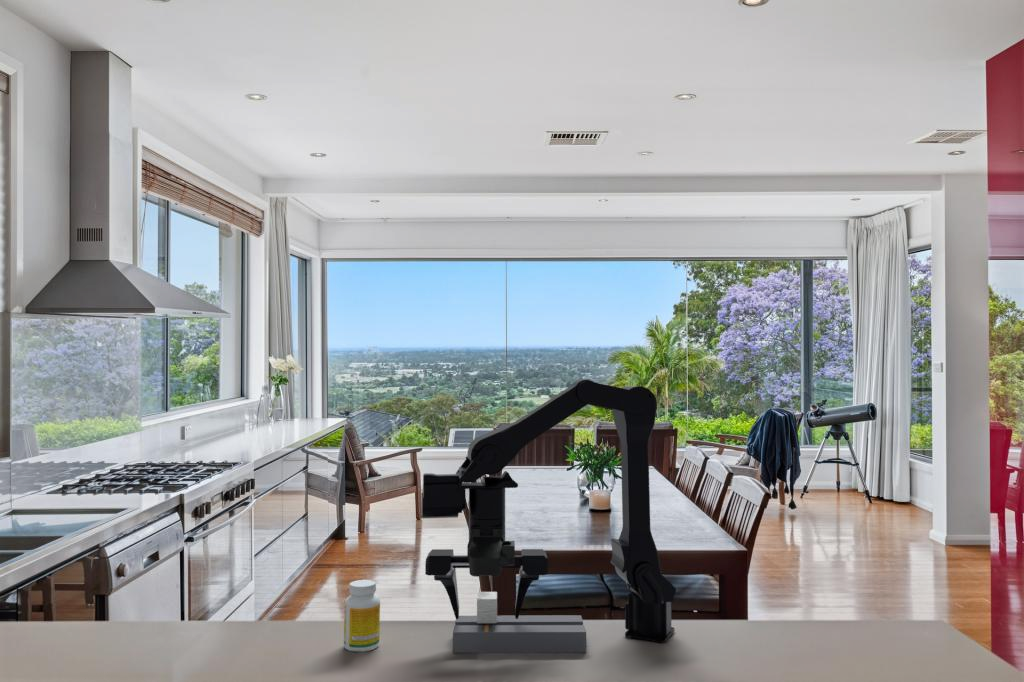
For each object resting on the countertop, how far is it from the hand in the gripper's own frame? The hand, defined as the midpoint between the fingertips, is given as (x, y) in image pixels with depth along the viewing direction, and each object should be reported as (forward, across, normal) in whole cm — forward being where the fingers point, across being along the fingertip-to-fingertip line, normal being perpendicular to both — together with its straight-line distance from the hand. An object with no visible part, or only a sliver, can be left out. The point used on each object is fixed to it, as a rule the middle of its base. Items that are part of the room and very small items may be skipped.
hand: (487, 618), depth 116 cm
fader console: (+4, +5, 0) cm, 6 cm away
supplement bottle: (+4, -19, -1) cm, 20 cm away
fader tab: (+2, 0, 0) cm, 2 cm away
